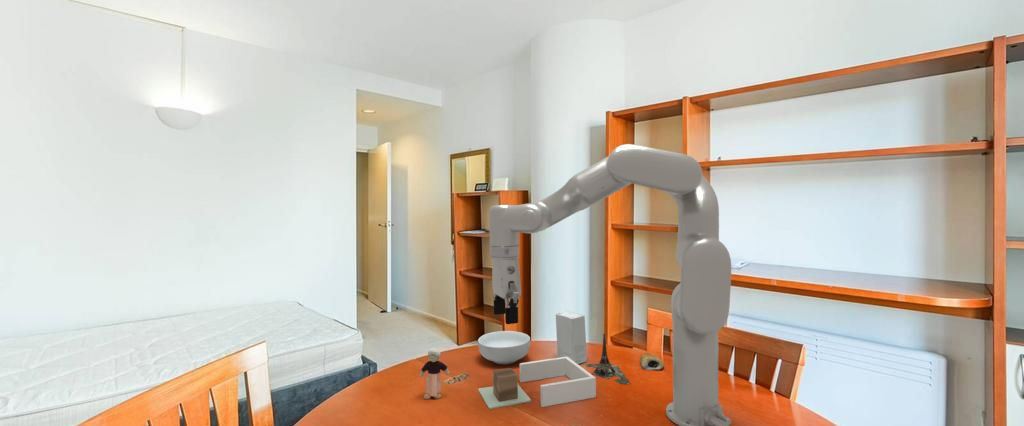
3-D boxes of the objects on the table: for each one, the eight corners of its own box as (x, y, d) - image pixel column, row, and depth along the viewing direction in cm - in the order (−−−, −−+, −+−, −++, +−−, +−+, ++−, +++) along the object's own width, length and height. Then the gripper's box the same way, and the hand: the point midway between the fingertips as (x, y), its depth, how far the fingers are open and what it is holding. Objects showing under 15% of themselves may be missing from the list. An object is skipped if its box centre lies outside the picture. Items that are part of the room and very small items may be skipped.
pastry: (637, 359, 129) (637, 347, 129) (658, 360, 128) (658, 348, 128) (642, 370, 120) (642, 357, 120) (665, 372, 119) (665, 359, 119)
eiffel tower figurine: (631, 386, 110) (631, 337, 110) (595, 387, 110) (595, 338, 110) (616, 365, 125) (615, 322, 125) (583, 365, 125) (583, 323, 125)
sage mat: (531, 401, 101) (531, 400, 101) (489, 409, 97) (489, 407, 97) (516, 383, 111) (516, 382, 111) (478, 390, 108) (478, 388, 108)
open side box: (595, 397, 103) (595, 377, 103) (542, 407, 98) (542, 386, 98) (567, 373, 118) (567, 356, 118) (519, 381, 113) (519, 363, 113)
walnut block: (517, 398, 102) (517, 375, 102) (499, 401, 100) (498, 378, 100) (511, 390, 106) (511, 367, 106) (493, 393, 105) (493, 370, 105)
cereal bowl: (509, 347, 141) (509, 327, 141) (541, 361, 128) (540, 339, 128) (468, 358, 131) (468, 337, 131) (498, 374, 118) (497, 350, 118)
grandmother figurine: (420, 401, 101) (419, 351, 101) (419, 395, 105) (418, 346, 105) (450, 397, 103) (449, 348, 103) (448, 391, 107) (448, 344, 107)
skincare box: (587, 362, 127) (586, 315, 126) (573, 366, 123) (572, 318, 123) (569, 354, 134) (569, 310, 133) (555, 358, 130) (555, 312, 130)
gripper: (530, 255, 96) (531, 325, 96) (507, 249, 113) (508, 309, 113) (500, 256, 94) (502, 329, 94) (481, 250, 110) (482, 312, 110)
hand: (505, 318), depth 103 cm, fingers open, 9 cm apart
